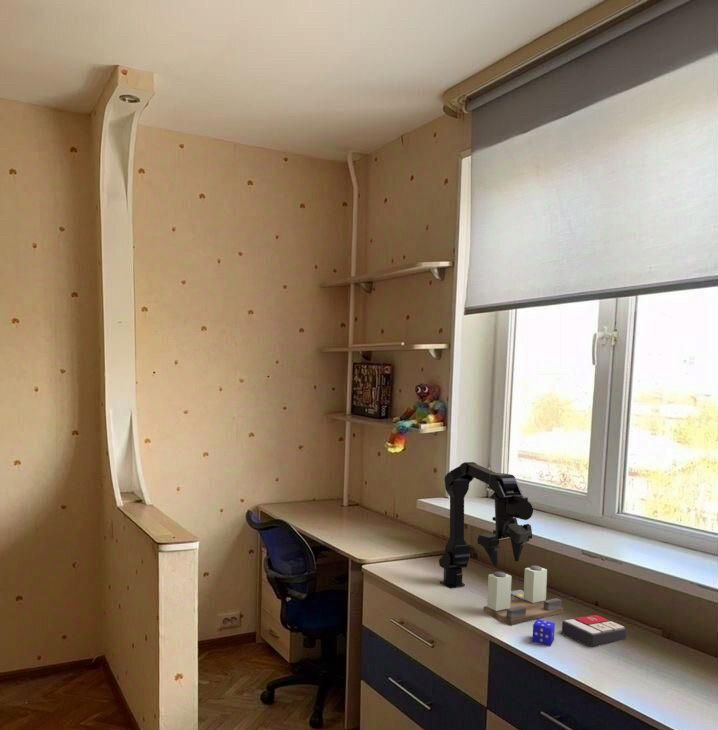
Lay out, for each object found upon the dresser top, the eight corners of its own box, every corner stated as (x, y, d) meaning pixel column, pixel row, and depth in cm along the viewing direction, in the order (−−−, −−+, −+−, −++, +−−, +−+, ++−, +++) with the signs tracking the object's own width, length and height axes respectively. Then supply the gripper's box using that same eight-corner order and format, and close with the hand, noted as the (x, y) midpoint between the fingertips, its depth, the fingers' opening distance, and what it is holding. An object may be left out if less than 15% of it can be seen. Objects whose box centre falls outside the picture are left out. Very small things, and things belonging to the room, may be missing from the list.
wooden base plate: (483, 611, 199) (483, 598, 199) (534, 600, 211) (535, 588, 211) (511, 625, 189) (511, 612, 189) (563, 613, 201) (564, 600, 201)
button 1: (487, 606, 199) (488, 572, 199) (501, 603, 202) (502, 570, 202) (496, 611, 195) (497, 576, 195) (510, 608, 198) (511, 574, 198)
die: (550, 646, 176) (551, 628, 176) (532, 642, 178) (533, 624, 178) (554, 640, 180) (554, 622, 180) (536, 636, 182) (537, 618, 182)
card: (507, 593, 217) (507, 591, 217) (520, 590, 220) (520, 589, 220) (525, 601, 210) (525, 599, 210) (537, 598, 213) (538, 596, 213)
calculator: (627, 626, 184) (593, 632, 176) (626, 641, 184) (591, 648, 176) (596, 613, 193) (562, 618, 186) (595, 627, 193) (560, 633, 185)
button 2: (523, 599, 207) (524, 566, 207) (536, 596, 210) (537, 564, 210) (532, 603, 204) (534, 570, 204) (545, 600, 207) (547, 567, 207)
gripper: (500, 523, 189) (502, 575, 189) (544, 514, 199) (546, 564, 199) (475, 517, 199) (477, 567, 198) (518, 509, 209) (520, 556, 208)
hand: (506, 564), depth 201 cm, fingers open, 9 cm apart
